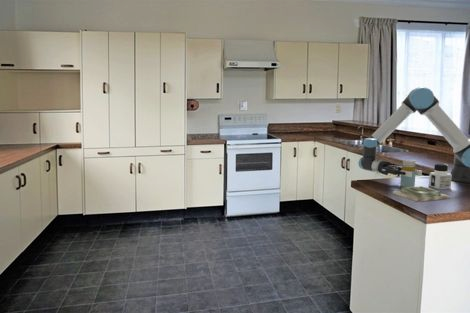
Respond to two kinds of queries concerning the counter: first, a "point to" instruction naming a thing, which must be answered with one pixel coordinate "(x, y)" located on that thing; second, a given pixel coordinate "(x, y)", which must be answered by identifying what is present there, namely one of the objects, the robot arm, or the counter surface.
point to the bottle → (409, 166)
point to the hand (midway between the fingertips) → (416, 174)
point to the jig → (420, 193)
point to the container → (440, 177)
